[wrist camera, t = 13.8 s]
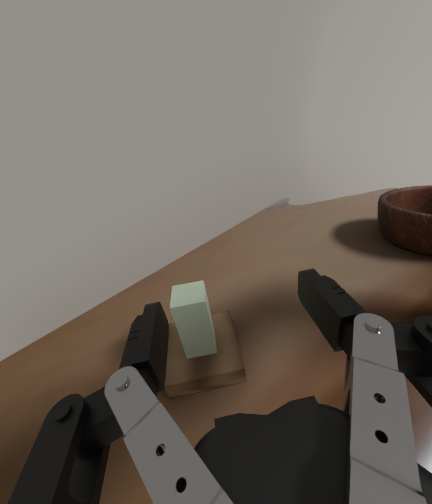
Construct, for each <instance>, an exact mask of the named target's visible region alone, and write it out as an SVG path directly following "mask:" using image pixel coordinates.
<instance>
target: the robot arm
mask: <svg viewBox="0 0 432 504" xmlns="http://www.w3.org/2000/svg"><path fill="white" fill-rule="evenodd" d="M298 296H299V299H300V301H301V303H302V305H303V306H304V307H305V309H306V310H307V312H308V313H309V315H310V316H311V318H312V319H313V321H314V322H315V323H316V325H317V326H318V328H319V329H320V331H321V332H322V334H323V335H324V337H325V338H326V339H327V341H328V342H329V344H330V345H331V347H332V348H333V350H334V351H335V352H336V351H341V350H344V352H345V353H346V354H347V356H346V365H345V378H344V392H343V400H342V407H341V410H339V409H337V408H335V407H332V406H329V405H324V404H318V403H317V401H316V399H315V397H314V396H310V397H306V398H302V399H298V400H293V401H290V402H288V403H286V404H285V405H283V406H281V407H280V408H278V409H276V410H275V411H273V412H271V413H270V414H268V415H257V414H243V413H238V414H234V415H229V416H225V417H221V418H217V419H215V428H213V429H212V430H210V431H209V432H208V433H207V434H205V435H204V437H203V438H202V439H201V440H200V441H199V442H198V444H197V445H196V446H195V448H193V447H192V446H191V444H190V443H189V441H188V440H187V439H186V437H185V436H184V434H183V433H182V432H181V430H180V429H179V427H178V426H177V425H176V423H175V422H174V420H173V419H172V418H171V416H170V415H169V413H168V412H167V410H166V409H165V408H164V406H163V405H162V404H161V402H160V401H159V400H158V399H157V398H156V397H157V392H158V391H163V390H164V389H165V377H166V364H167V352H168V339H169V324H168V320H167V318H166V315H165V313H164V310H163V308H162V305H161V303H160V302H155V303H150V304H146V305H145V307H144V312H143V315H139V316H137V317H136V319H135V320H134V321H133V323H132V325H131V328H130V332H129V333H130V334H129V335H128V339H127V340H128V341H127V343H126V346H125V350H124V353H123V357H122V360H121V364H120V367H119V370H118V371H116V372H115V373H114V374H113V375H112V376H111V377H110V378H109V380H108V381H107V383H106V386H105V387H103V388H102V389H100V390H98V391H96V392H94V393H92V394H91V395H89V396H87V397H85V398H83V397H82V396H81V395H79V394H71V395H68V396H66V397H64V398H63V399H61V400H60V401H59V402H58V403H57V404H55V405H54V407H53V408H52V409H51V410H50V411H49V413H48V415H47V416H46V418H45V421H44V423H43V425H42V427H41V430H40V432H39V434H38V436H37V439H36V441H35V443H34V446H33V448H32V450H31V452H30V455H29V457H28V459H27V461H26V464H25V466H24V468H23V470H22V473H21V475H20V477H19V479H18V482H17V484H16V486H15V488H14V491H13V493H12V495H11V498H10V500H9V502H8V504H99V500H100V495H101V490H102V485H103V480H104V474H105V469H106V464H107V459H108V454H109V449H110V444H111V442H113V441H115V440H116V439H118V438H119V437H121V436H123V435H124V437H123V439H124V442H125V444H126V446H127V448H128V451H129V453H130V455H131V457H132V459H133V461H134V463H135V465H136V467H137V470H138V472H139V474H140V476H141V478H142V480H143V482H144V484H145V487H146V489H147V491H148V493H149V495H150V497H151V499H152V501H153V503H154V504H432V473H430V472H429V471H428V470H426V469H425V468H423V467H422V466H421V465H419V464H418V463H417V458H416V451H415V443H414V436H413V429H412V422H411V415H410V408H409V401H408V394H407V387H406V380H405V376H406V377H407V378H408V380H409V381H410V382H411V383H412V384H413V386H414V387H415V388H416V389H417V390H418V392H419V393H420V394H421V395H422V396H423V398H424V399H425V400H426V401H427V402H428V404H429V405H430V406H431V407H432V316H427V315H423V316H418V317H416V318H415V320H414V322H413V324H398V323H389V322H388V321H387V320H386V319H384V318H382V317H380V316H378V315H375V314H371V313H367V312H366V311H365V310H364V309H363V308H362V307H361V306H360V305H359V304H358V303H357V302H356V301H355V300H354V299H353V298H352V297H351V296H350V295H349V294H348V293H346V291H345V290H344V289H343V288H341V287H340V286H339V285H338V284H337V283H336V282H335V281H334V280H333V279H331V278H329V277H327V276H325V275H323V276H320V275H319V274H318V273H317V272H316V271H315V270H314V269H308V270H303V271H299V273H298ZM404 375H405V376H404Z"/></svg>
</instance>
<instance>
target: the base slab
mask: <svg viewBox="0 0 432 504" xmlns="http://www.w3.org/2000/svg"><path fill="white" fill-rule="evenodd" d="M211 317H212V321H213V326H214V332H215V339H216V347H217V353H215V354H210V355H205V356H200V357H195V358H190V359H187V358H186V355H185V352H184V349H183V346H182V343H181V340H180V337H179V334H178V331H177V328H176V325H175V323H170V324H169V339H168V352H167V364H166V377H165V391H166V393H167V395H168V397H169V399H171V398H175V397H179V396H184V395H188V394H193V393H197V392H202V391H206V390H211V389H215V388H219V387H224V386H228V385H233V384H237V383H242V382H246V375H245V368H244V364H243V360H242V357H241V353H240V349H239V345H238V342H237V338H236V334H235V330H234V326H233V323H232V319H231V315H230V311H227V312H223V313H218V314H213V315H211Z"/></svg>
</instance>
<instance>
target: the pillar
mask: <svg viewBox="0 0 432 504" xmlns="http://www.w3.org/2000/svg"><path fill="white" fill-rule="evenodd" d="M170 310H171V313H172V316H173V319H174V322H175V325H176V328H177V331H178V334H179V337H180V340H181V343H182V346H183V349H184V352H185V355H186V358H187V359H190V358H195V357H200V356H205V355H210V354H215V353H217V347H216V339H215V332H214V326H213V321H212V317H211V312H210V308H209V303H208V299H207V294H206V289H205V285H204V280H203V281H198V282H193V283H187V284H182V285H177V286H172V294H171V303H170Z"/></svg>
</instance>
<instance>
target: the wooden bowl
mask: <svg viewBox="0 0 432 504" xmlns="http://www.w3.org/2000/svg"><path fill="white" fill-rule="evenodd" d="M378 224H379V227H380V230H381V232H382V234H383V236H384V237H385V238H386V239H387V240H388V241H390V242H391V243H393V244H395V245H397V246H399V247H401V248H404V249H407V250H410V251H413V252H417V253H422V254H426V255H432V186H415V187H406V188H400V189H395V190H391V191H388V192H386V193H384V194H382V195H381V196H380V198H379V201H378Z"/></svg>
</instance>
